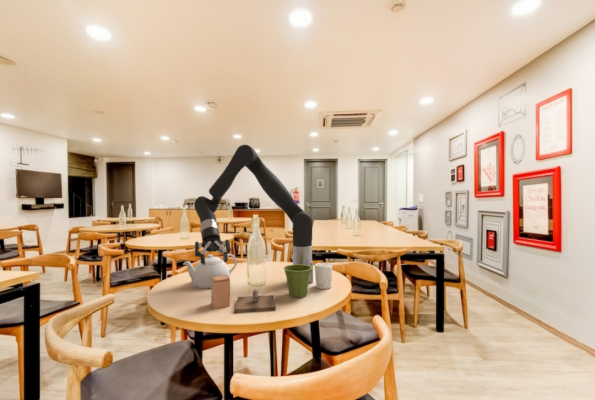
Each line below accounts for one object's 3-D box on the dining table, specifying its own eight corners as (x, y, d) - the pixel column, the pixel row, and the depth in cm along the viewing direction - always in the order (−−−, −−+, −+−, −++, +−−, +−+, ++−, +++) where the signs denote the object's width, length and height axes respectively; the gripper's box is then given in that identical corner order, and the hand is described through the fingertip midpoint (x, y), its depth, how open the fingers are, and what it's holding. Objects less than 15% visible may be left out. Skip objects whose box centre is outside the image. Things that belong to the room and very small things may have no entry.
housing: (226, 301, 100) (226, 275, 100) (229, 306, 95) (229, 278, 95) (211, 303, 97) (211, 277, 97) (214, 309, 92) (214, 281, 92)
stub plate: (273, 297, 103) (273, 283, 103) (275, 310, 91) (275, 294, 91) (237, 300, 101) (237, 285, 101) (235, 312, 89) (235, 296, 89)
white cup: (321, 291, 111) (320, 267, 111) (311, 285, 118) (311, 263, 118) (336, 288, 115) (336, 265, 115) (326, 283, 122) (326, 261, 122)
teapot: (221, 290, 112) (221, 259, 112) (182, 288, 115) (182, 258, 115) (237, 278, 130) (237, 251, 130) (203, 276, 133) (203, 250, 133)
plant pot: (314, 291, 111) (314, 264, 111) (309, 301, 99) (308, 272, 99) (288, 289, 114) (288, 263, 114) (279, 298, 102) (279, 270, 102)
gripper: (193, 227, 110) (197, 259, 100) (227, 225, 117) (234, 255, 106) (192, 238, 114) (195, 269, 104) (224, 236, 121) (230, 265, 111)
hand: (215, 262), depth 105 cm, fingers open, 8 cm apart
